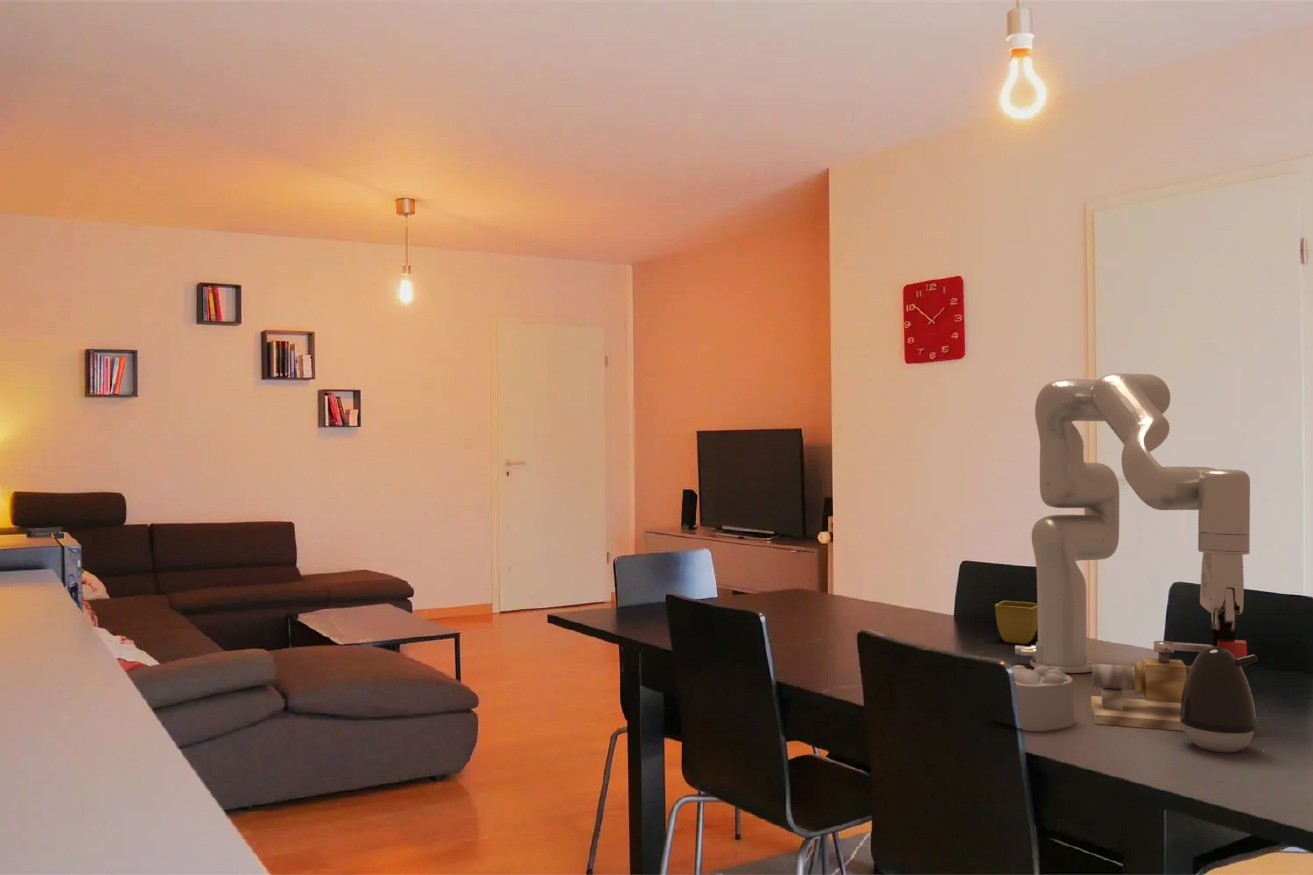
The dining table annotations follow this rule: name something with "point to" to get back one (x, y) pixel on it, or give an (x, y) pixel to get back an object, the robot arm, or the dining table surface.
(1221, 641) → the valve lever
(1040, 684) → the lumpy-topped squat cylinder
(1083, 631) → the robot arm
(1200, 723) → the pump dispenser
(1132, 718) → the valve bench
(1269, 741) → the dining table surface
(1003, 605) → the flower pot
